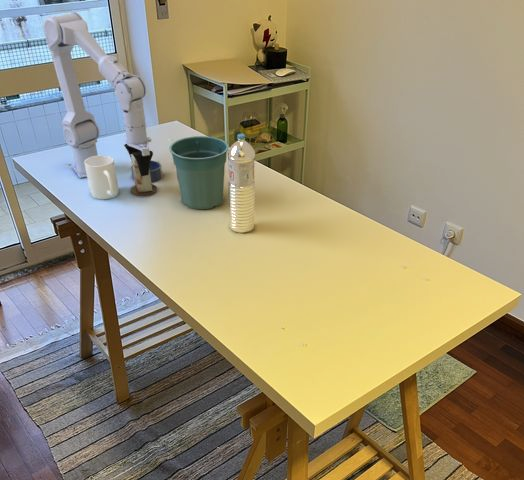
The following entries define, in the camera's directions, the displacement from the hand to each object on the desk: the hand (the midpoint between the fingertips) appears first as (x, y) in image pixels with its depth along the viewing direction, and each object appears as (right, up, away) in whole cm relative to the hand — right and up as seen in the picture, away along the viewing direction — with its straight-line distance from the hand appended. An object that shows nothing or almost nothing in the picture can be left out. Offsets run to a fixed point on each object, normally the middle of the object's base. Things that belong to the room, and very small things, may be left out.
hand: (141, 171), depth 160 cm
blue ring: (-1, +2, +12) cm, 12 cm away
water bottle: (+31, -20, -13) cm, 39 cm away
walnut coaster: (0, -4, +4) cm, 6 cm away
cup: (-10, -7, +1) cm, 13 cm away
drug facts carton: (0, -4, +4) cm, 6 cm away
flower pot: (+18, -9, -1) cm, 20 cm away
